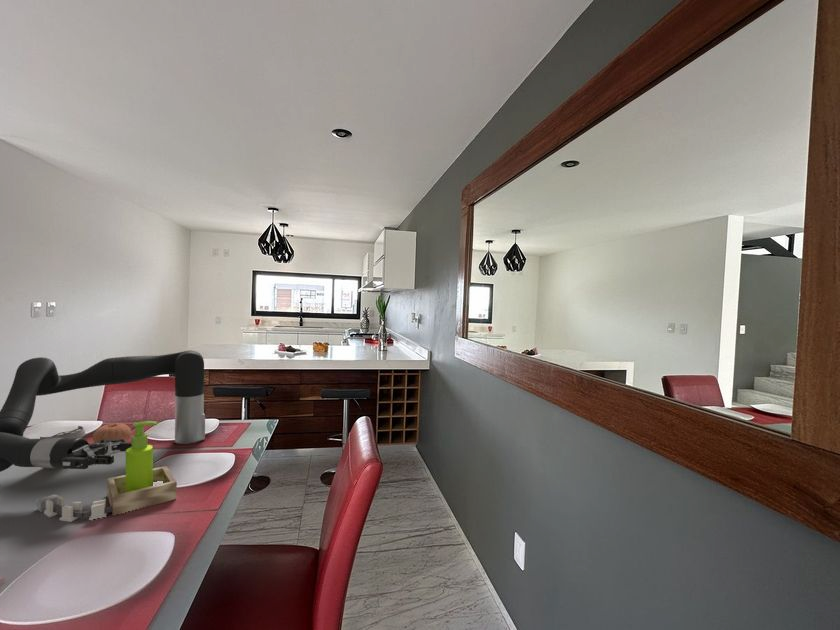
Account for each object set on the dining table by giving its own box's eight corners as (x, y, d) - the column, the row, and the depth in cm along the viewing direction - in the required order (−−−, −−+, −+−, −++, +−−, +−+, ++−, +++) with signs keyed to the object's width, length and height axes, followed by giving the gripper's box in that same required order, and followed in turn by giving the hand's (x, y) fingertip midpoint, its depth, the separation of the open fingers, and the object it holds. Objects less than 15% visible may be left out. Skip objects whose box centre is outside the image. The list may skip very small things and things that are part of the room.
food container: (54, 472, 119) (54, 439, 119) (38, 470, 121) (37, 437, 120) (95, 456, 132) (95, 426, 131) (80, 455, 133) (80, 425, 132)
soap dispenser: (156, 498, 106) (157, 423, 105) (124, 504, 102) (124, 427, 101) (157, 489, 111) (158, 417, 110) (126, 494, 107) (127, 421, 106)
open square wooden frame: (166, 481, 116) (166, 465, 115) (176, 498, 106) (176, 481, 106) (107, 495, 107) (107, 478, 106) (112, 516, 97) (112, 497, 97)
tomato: (128, 438, 149) (128, 417, 149) (133, 446, 142) (133, 424, 141) (90, 445, 142) (90, 423, 141) (94, 454, 134) (94, 430, 134)
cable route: (51, 502, 102) (51, 490, 102) (115, 512, 98) (115, 499, 98) (24, 514, 96) (24, 501, 96) (91, 525, 92) (91, 511, 92)
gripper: (82, 456, 112) (141, 456, 113) (35, 479, 98) (104, 479, 98) (81, 429, 111) (141, 430, 112) (35, 449, 97) (104, 449, 98)
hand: (124, 453), depth 105 cm, fingers open, 8 cm apart
